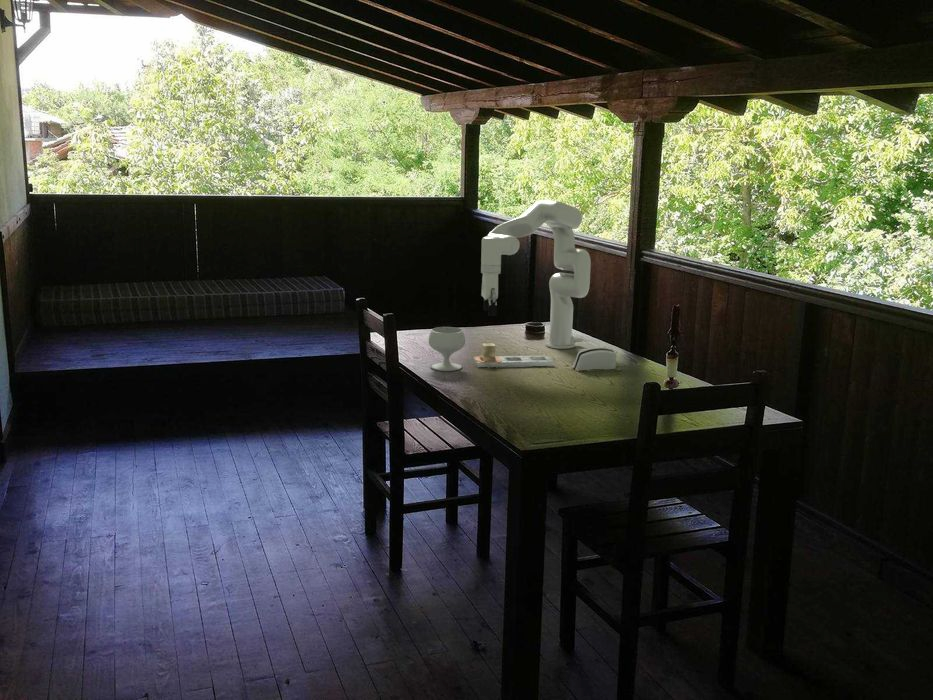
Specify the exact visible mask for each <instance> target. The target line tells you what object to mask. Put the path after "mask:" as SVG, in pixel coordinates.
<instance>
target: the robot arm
mask: <svg viewBox="0 0 933 700" xmlns="http://www.w3.org/2000/svg"><path fill="white" fill-rule="evenodd" d="M582 221H583V214H582V212H581V210H580V209H578V208H577V207H575V206H573V205H570V204H567V203H565V202H562V201H558V200H547V199H546V200H545V199H541V200H537V201H535V202H534V203H533V204H532V205H531V206H530V207H528V208H527V209H526V210H525V211H524V212H523V213H521V214H520V215H519V216H518V217H515V218H513V219H511V220H508V221H506V222H502V223H501V224H498V225H497V226H495V227H494V228H493V229H492V230H491V231H489V233H488V234H487V235H486V236H484V237H482V239H481V256H480V257H481V258H480V261H481V262H480V263H481V264H480V273H481V274H482V276H481V277H482V278H481V281H482V282H481V294H480V296H481V297H483V311H484V312H487V313H488V314H487V315H488V317H493V316H497V314H498V313H497V311H498V310H497V309H498V306H497V305H498V304H497V303H498V302H497V299H498V297H499V275H500V274H502V272H501V271H502V270H501V269H502V255H505V256H506V255H507V256H512V255H515V254H516V253H518V251H519V249H520V248H521V247H520V244H521V243H520V240H519V239H518V238H524V237H527V236H530V235H533V234H534V233H535V232H536V231H537V230H538V229H539V228H540V227H541V226H542V225H544V223H545V224H546V225H547V226H548V227H549V228H550V230H551V231H552V234H553V237H554V238H553V240H554V241H553V242H554V243H553V265H554V267H555V268H557V269H558V270H562V271H568V272H570V271H571V272H573V273H567V272H557V273H554V274H552V275H551V277H550V278H549V282H548V286H549V292H550V319H549V320H550V321H549V340H548V341H546V342H545V346H546V347H547V348H552V349H556V350H557V349H558V350H565V349H566V350H568V349H572V348H575V347H576V343H583V340H584V338H583V337H579V336H573V320H574V303H573V300H572V298H578V299H582V298H586V296H587V295H588V293H589V290H590V284H591V266H592V265H591V264H592V263H591V262H592V261H591V256H590V253H589V252H588V251H587V250H586V249H584V248H576V247H575V240H576V239H575V238H576V237H575V233H574V229H575V230H576V229H577V228H579V227H580V226H581V224H582V223H583V222H582Z"/></svg>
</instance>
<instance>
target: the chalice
mask: <svg viewBox="0 0 933 700" xmlns="http://www.w3.org/2000/svg"><path fill="white" fill-rule="evenodd" d="M465 344H466V336H465V333H464V331H463V329H462V328H460V327H455V326H439V327H438V326H436V327H434V328H432V329H431V330H430V333H429V335H428V345H429V346H430V348H432V349H433V350H434V351H436V352H437V353H440V354H441V355H442V357H443V362H439V363H434V364H432V365H431V366H430V368H431V369H433V370H436V371H441V372H453V371H454V372H455V371H459V370H462V369H463V366H462V365H461V364H458V363H456V362H455V363H454V362H450V357H451V356H452V355H453V354H454V353H456V352H458V351H460V350H461V349H463V348H464V346H465Z"/></svg>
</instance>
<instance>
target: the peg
mask: <svg viewBox="0 0 933 700" xmlns="http://www.w3.org/2000/svg"><path fill="white" fill-rule="evenodd" d="M496 349H497V346H496V344H495V343H494V342H493V343H490V342H489V343H485V342H484V343H481V356H482V361H495V356H496V352H497V351H496Z"/></svg>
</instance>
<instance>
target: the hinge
mask: <svg viewBox="0 0 933 700" xmlns="http://www.w3.org/2000/svg"><path fill="white" fill-rule="evenodd" d="M617 358H618V357H617V353H616V352H615V350H613V349H611V348H609V347H603V346H596V347H595V346H594V347H589V348H585V349H581V350H578V352H577V354H576V358H575V360H574V363H573V364H572V367H574V368H573V369H575V370H574V371H576V370H587V371H591V370H590V369H604V370H616V366H617V365H616V364H617ZM572 367H571V368H572Z"/></svg>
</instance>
